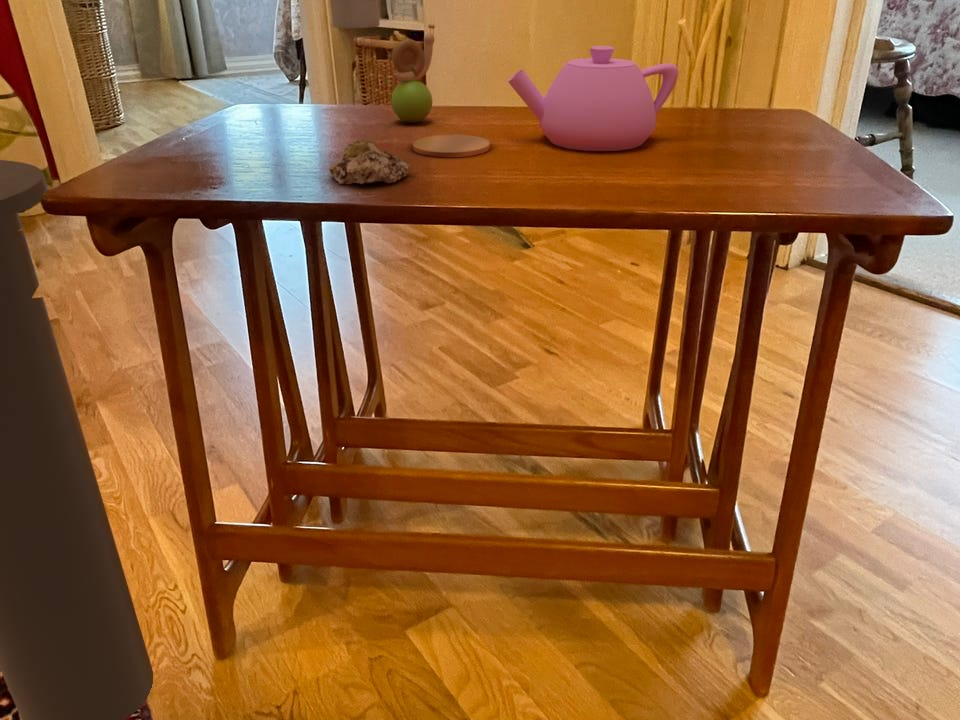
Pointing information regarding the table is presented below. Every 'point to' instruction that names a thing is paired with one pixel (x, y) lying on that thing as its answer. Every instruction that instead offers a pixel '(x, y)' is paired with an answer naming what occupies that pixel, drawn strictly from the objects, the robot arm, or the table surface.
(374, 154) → the mineral rock
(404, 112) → the snail figurine
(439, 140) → the cork coaster
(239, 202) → the table surface
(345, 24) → the grey cylinder
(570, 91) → the teapot
